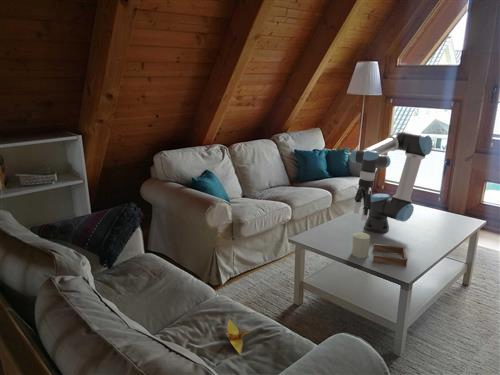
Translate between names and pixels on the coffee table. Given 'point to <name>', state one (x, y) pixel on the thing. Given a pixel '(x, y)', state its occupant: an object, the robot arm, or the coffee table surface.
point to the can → (360, 245)
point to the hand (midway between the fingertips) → (359, 216)
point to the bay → (390, 259)
